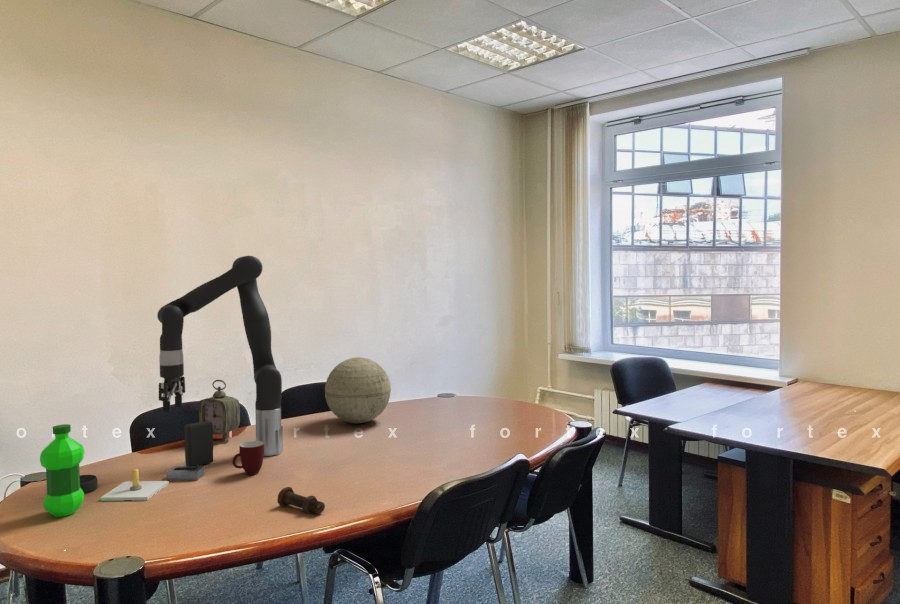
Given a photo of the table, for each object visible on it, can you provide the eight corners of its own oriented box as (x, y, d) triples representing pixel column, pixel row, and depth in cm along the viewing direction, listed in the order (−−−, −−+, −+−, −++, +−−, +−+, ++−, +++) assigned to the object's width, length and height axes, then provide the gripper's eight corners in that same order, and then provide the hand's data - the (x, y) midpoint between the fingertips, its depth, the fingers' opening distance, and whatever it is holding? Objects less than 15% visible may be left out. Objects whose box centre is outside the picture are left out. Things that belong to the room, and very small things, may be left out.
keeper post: (168, 483, 191) (168, 462, 190) (147, 500, 177) (147, 477, 176) (125, 484, 190) (124, 463, 190) (100, 500, 176) (99, 477, 176)
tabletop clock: (199, 440, 241) (197, 380, 240) (215, 435, 249) (214, 376, 248) (226, 444, 236) (225, 382, 235) (242, 438, 244) (241, 378, 243)
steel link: (204, 474, 200) (204, 465, 200) (197, 480, 194) (197, 471, 194) (174, 474, 199) (174, 466, 199) (167, 480, 194) (166, 471, 194)
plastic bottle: (39, 523, 160) (35, 432, 159) (47, 509, 170) (44, 423, 169) (81, 517, 164) (78, 428, 163) (88, 503, 174) (85, 420, 173)
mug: (239, 480, 194) (238, 450, 193) (228, 474, 199) (228, 445, 199) (269, 473, 201) (268, 444, 200) (258, 467, 207) (257, 439, 206)
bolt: (319, 522, 165) (281, 509, 173) (330, 508, 169) (293, 496, 176) (312, 508, 162) (274, 496, 170) (323, 494, 166) (286, 482, 174)
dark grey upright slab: (210, 460, 215) (209, 419, 215) (214, 462, 212) (213, 421, 212) (184, 466, 209) (183, 424, 208) (188, 468, 206) (187, 426, 205)
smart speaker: (73, 498, 179) (72, 485, 179) (58, 492, 184) (58, 480, 183) (103, 489, 186) (103, 477, 186) (88, 484, 191) (88, 472, 191)
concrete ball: (358, 412, 292) (357, 351, 290) (404, 420, 274) (403, 356, 273) (311, 424, 267) (310, 358, 266) (358, 434, 250) (357, 364, 249)
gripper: (172, 365, 196) (173, 414, 197) (191, 359, 210) (192, 404, 211) (150, 366, 196) (151, 414, 197) (170, 360, 210) (171, 405, 211)
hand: (172, 409), depth 204 cm, fingers open, 8 cm apart
